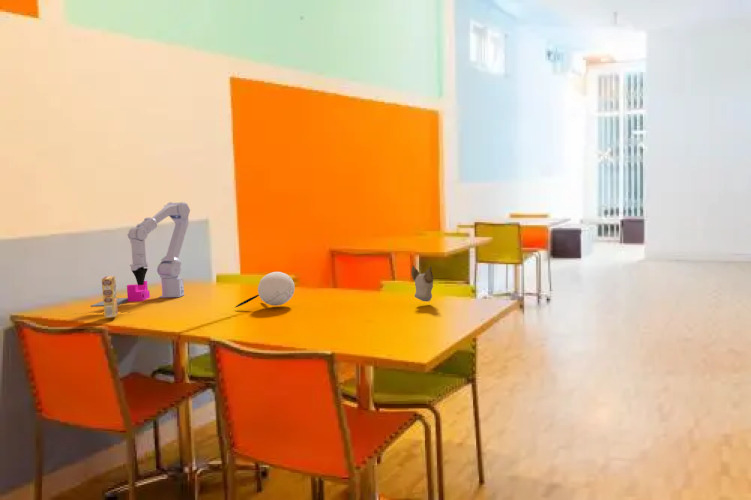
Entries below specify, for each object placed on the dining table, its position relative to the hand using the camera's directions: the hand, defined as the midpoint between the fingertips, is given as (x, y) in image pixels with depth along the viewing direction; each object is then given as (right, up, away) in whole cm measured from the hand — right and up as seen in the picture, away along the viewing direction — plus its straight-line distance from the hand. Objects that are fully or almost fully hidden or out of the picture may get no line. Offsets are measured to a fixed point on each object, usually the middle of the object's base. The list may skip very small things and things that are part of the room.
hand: (140, 284), depth 317 cm
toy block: (-3, -7, +10) cm, 13 cm away
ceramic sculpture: (+124, -6, -27) cm, 127 cm away
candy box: (0, -11, -34) cm, 36 cm away
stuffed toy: (+70, +4, -28) cm, 75 cm away
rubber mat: (-13, -8, +1) cm, 15 cm away
